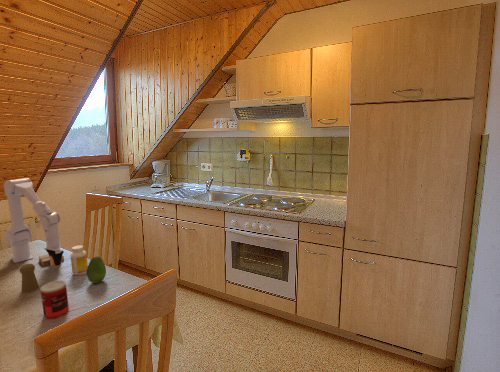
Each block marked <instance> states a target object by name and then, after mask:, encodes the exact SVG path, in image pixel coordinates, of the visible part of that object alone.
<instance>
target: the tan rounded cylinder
mask: <svg viewBox="0 0 500 372" xmlns="http://www.w3.org/2000/svg"><path fill="white" fill-rule="evenodd" d="M49 257H50V265H49V266H50V268H52V269H54V268H55V269H56V268H59V267H61V266H62V263H61V264H60V265H57V266H56V265H55V263H54V260H53V258H52V256H49Z"/></svg>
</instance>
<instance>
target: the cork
mask: <svg viewBox="0 0 500 372" xmlns="http://www.w3.org/2000/svg"><path fill="white" fill-rule="evenodd" d="M35 270H36V266H35V264H33V263H27V264H23V265H21V266H20V267H19V273H20V274H21V293H25V294H29V293H33V292H35V291H36V290H38V289H40V286H39V283H38V280H37V276H36V273H35Z"/></svg>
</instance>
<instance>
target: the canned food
mask: <svg viewBox="0 0 500 372" xmlns="http://www.w3.org/2000/svg"><path fill="white" fill-rule="evenodd" d="M39 289H40V290H39V291H40V297H41V304H42V310H43V315H44V317H45V318H46V319H58V318H60V317H61V316H64V315H66V313H68V312H69V308H70V306H69V300H68V291H67V283H66V281H64V280H53V281H50V282H47V283H44V285H43V284H42V286H41V287H39Z"/></svg>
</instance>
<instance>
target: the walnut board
mask: <svg viewBox="0 0 500 372" xmlns="http://www.w3.org/2000/svg"><path fill="white" fill-rule="evenodd" d="M38 261H39V262H40V264H41V265H42V266H43V267H46V266H51V265H50V257H49V254H48V253H47V254H43V255H40V256H38ZM64 261H65V258H64V255H62V258H61V262H64Z"/></svg>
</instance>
